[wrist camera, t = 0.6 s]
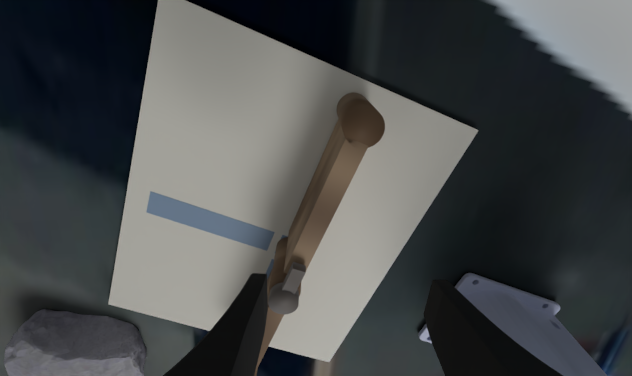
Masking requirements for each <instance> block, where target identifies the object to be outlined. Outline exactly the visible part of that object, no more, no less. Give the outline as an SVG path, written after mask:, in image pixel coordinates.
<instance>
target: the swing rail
mask: <svg viewBox="0 0 632 376" xmlns="http://www.w3.org/2000/svg"><path fill="white" fill-rule="evenodd" d="M337 116H338V120H337V123H336V125H335V127H334V129H333V132H332V134H331V136H330V139H329V141H328V143H327V145H326V148H325V150H324V152H323V154H322V157H321V159H320V161H319V164H318V166H317V168H316V170H315V173H314V175H313V177H312V179H311V182H310V184H309V186H308V188H307V191H306V193H305V195H304V198H303V200H302V202H301V204H300V207H299V209H298V211H297V213H296V216H295V218H294V220H293V223H292V225H291V227H290V229H289V234H288V242H287V250H286V258H285V266H284V273H286V274H287V275H286V278H285V280H284V282H283V283H278V284H276V285H274V286H273V287H272V288H271V290H270V295H269V301H268V305H269V307H270V309H271V310H272V311H274V312H275V313H278V314H290V313H292V312H294V311H295V310H296V309H297V308H298V304H299V291H298V287H299V285H300V283H301V281H302V279H303V277H304V275H305V273H306V270H307V268H308V266H309V264H310V262H311V260H312V258H313V256H314V254H315V252H316V250H317V248H318V246H319V244H320V242H321V240H322V238H323V236H324V234H325V232H326V230H327V228H328V226H329V224H330V222H331V220H332V218H333V216H334V214H335V212H336V210H337V208H338V206H339V204H340V202H341V200H342V198H343V196H344V194H345V192H346V190H347V188H348V186H349V184H350V182H351V180H352V178H353V176H354V174H355V172H356V170H357V168H358V166H359V164H360V162H361V160H362V158H363V156H364V154H365V152H366V150H367V148H369V147H371V146H373V145H375V144H376V143H378V142H379V141H380V139H381V138H382V136H383V134H384V131H385V122H384V119H383V117H382V115H381V114H380V113H379V112H378V111H377V109H376V108H375V107H374V106H373V105H372V104H371V103H370V102H369V101H368V100H367V99H366V98H365V97H364V96H363V95H361V94H359V93H354V92H353V93H348V94H346V95H344V96H343V97H342V98H341V99H340V100H339V102H338V104H337Z"/></svg>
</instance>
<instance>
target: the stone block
mask: <svg viewBox="0 0 632 376" xmlns="http://www.w3.org/2000/svg"><path fill="white" fill-rule="evenodd" d="M145 357H146V347H145V346H144V343H143V340H142V338H141V336H140V333H139V331H138V329H137V328H136V327H135V326H134V325H133V324H131V323H128V322H124V321H121V320H118V319H115V318H112V317H108V316H96V315H81V314H75V313H72V312H68V311H53V310H49V309H41V310H39V311H37V312H36V313H34V314H33V315H32V317H31V318H30V319H29V320H27V321H26V322H24V323H23V324H22V326H21V327H20V328H19V329H18V331H17V332H16V333H15V334H13V336H12V338H11V340H10V342H9V343H8V344H7V346H6V348H5V359H4V365H5V369H6V370H7V372H8V375H9V376H144V364H145Z"/></svg>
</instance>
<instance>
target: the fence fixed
mask: <svg viewBox="0 0 632 376" xmlns="http://www.w3.org/2000/svg"><path fill="white" fill-rule="evenodd" d="M287 242H288V237H285V238H282V239H281V240H279V241H278V243H277V246H276V252H275V257H274V263H273V268H272V270H271V272H270V275H269V277H268V279H267V299H268V301H269V295H270V290H271V288H272V287H273V286H274V285H276V284H278V283H283V282H284V280H285V278H286V275H287V274H286V273H284V266H285V258H286V250H287ZM298 291H299V296H300V293H301V283H300V285H299V287H298ZM283 316H284V314H278V313H275V312H274V311H272V310H271V309H270V307H269V305H268V311H267V318H266V326H265V333H264V337H263V341H262V345H261V350H260V354H259V358H258V362H257V366H256V370H255V374H254V376H256V374H257V368H258V366H259V364H260V362H261V360H262V358H263V356H264V354H265V352H266V350H267V348H268V346H269V344H270V342H271V340H272V338H273V336H274V334H275V332H276V330H277V328H278V326H279V324H280V322H281V320H282V318H283Z"/></svg>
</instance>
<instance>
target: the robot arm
mask: <svg viewBox="0 0 632 376" xmlns="http://www.w3.org/2000/svg"><path fill="white" fill-rule="evenodd" d="M474 280H475V281H474ZM559 310H560V306H559V304H558V303H556V302H554V301H551V300H548V299H545V298H542V297H539V296H536V295H534V294H531V293H528V292H525V291H522V290H519V289H516V288H513V287H510V286H508V285H505V284H502V283H499V282H496V281H493V280H490V279H487V278H485V277H482V276H479V275H476V274H473V273H467V274H465V275H464V276H463V277H462V278H461V279H460V281H459V282H458V283H457V285H456V286H455V287H454V286H453V285H452V284H451V283H450V282H449V281H447V280H433V282H432V285H431V289H430V293H429V296H428V300H427V304H426V307H425V311H424V317H425V321H426V324H425V325H424V327H423V328H422V329H421V330H420V332H419V333H418V336H419V338H420V339H421V340H423V341H426V342H430V343H432V344H433V347H434V349H435V352H436V354H437V357H438V359H439V361H440V364H441V366H442V369H443V371H444V374H445V376H607V375H606V374H605V373H604V372H603V370H602V369H601V368H600V367H599V366H598V365H597V364H596V362H595V361H594V360H593V359H592V358H591V357H590V356H589V354H588V353H587V352H586V351H585V350H584V349H583V348H582V347H581V345H580V344H579V343H578V342H577V341H576V340H575V339H574V337H573V336H572V335H571V334H570V333H569V332H568V331H567V329H566V328H565V327H564V326H563V325H562V324H561V323H560V322H559V320H558V319H557V318H556V317H555V316H554V315H555V314H556V313H557V312H558V311H559ZM267 311H268V299H267V274H261V273H252V274H251V275H250V276H249V278H248V280H247V282H246V283H245V285H244V286H243V288H242V290H241V291H240V293H239V294H238V295H237V297H236V298H235V300H234V301H233V302H232V304H231V305H230V307H229V308H228V309H227V311H226V312H225V313H224V314H223V316H222V317H221V318H220V319H219V320H218V322H217V323H216V324H215V325H214V327H213V328H212V329H211V330H210V331H209V332H208V333H207V334H206V336H205V337H204V338H203V339H202V340H201V341H200V342H199V343H198V344H197V345H196V346H195V347H194V348H193V349H192V350H191V351H190V352H189V353H188V354H187V355H186V356H185V357H184V358H183V359H182V360H180V361H179V362H178V363H177V364H176V365H175V366H174V367H173V368H171V369H170V370H169V371H168V372H167V373H165V374H164V375H163V376H254V374H255V370H256V366H257V362H258V358H259V354H260V350H261V345H262V341H263V337H264V333H265V326H266V318H267Z"/></svg>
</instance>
